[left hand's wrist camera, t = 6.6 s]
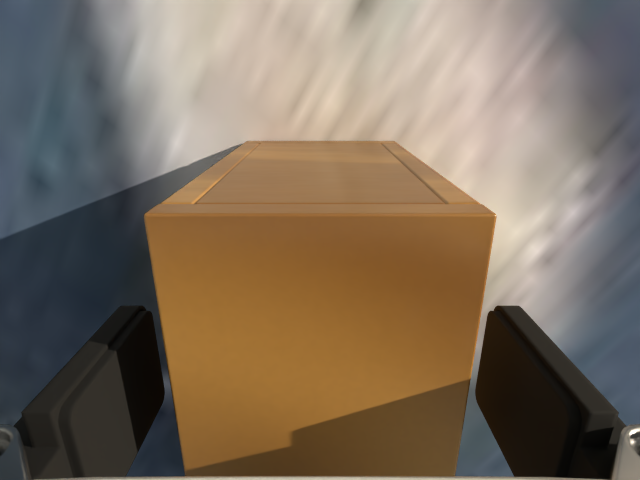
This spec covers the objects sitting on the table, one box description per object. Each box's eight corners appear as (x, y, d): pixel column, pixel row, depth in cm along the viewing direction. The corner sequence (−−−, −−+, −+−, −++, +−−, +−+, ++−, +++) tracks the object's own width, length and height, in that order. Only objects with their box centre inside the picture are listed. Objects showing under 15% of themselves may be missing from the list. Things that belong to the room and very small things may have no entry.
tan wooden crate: (375, 454, 24) (415, 726, 14) (265, 454, 24) (224, 725, 14) (395, 140, 18) (498, 214, 7) (245, 140, 18) (141, 214, 7)
